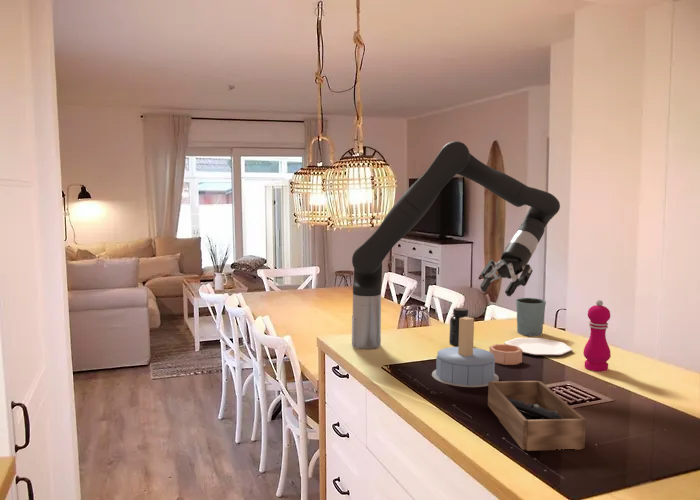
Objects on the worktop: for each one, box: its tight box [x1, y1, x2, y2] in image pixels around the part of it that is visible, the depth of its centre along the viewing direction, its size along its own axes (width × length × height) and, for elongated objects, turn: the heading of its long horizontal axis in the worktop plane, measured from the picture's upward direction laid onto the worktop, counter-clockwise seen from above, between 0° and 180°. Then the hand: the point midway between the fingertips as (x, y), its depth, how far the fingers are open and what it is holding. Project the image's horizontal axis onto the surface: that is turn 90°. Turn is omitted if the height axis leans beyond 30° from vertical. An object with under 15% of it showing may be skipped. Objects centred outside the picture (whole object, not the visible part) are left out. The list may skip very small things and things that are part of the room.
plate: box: [504, 337, 573, 357], centre depth 187 cm, size 20×20×2 cm
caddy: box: [487, 380, 587, 452], centre depth 126 cm, size 13×24×6 cm, turn 4°
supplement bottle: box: [448, 307, 469, 347], centre depth 191 cm, size 7×7×12 cm
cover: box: [435, 316, 496, 385], centre depth 158 cm, size 15×15×16 cm
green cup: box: [515, 297, 547, 337], centre depth 207 cm, size 10×10×12 cm
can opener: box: [507, 398, 562, 420], centre depth 126 cm, size 18×7×6 cm, turn 24°
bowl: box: [489, 343, 523, 366], centre depth 173 cm, size 9×9×4 cm
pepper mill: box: [582, 299, 611, 372], centre depth 166 cm, size 7×7×20 cm
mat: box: [431, 369, 500, 388], centre depth 158 cm, size 18×18×1 cm
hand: (494, 292), depth 164 cm, fingers open, 8 cm apart
